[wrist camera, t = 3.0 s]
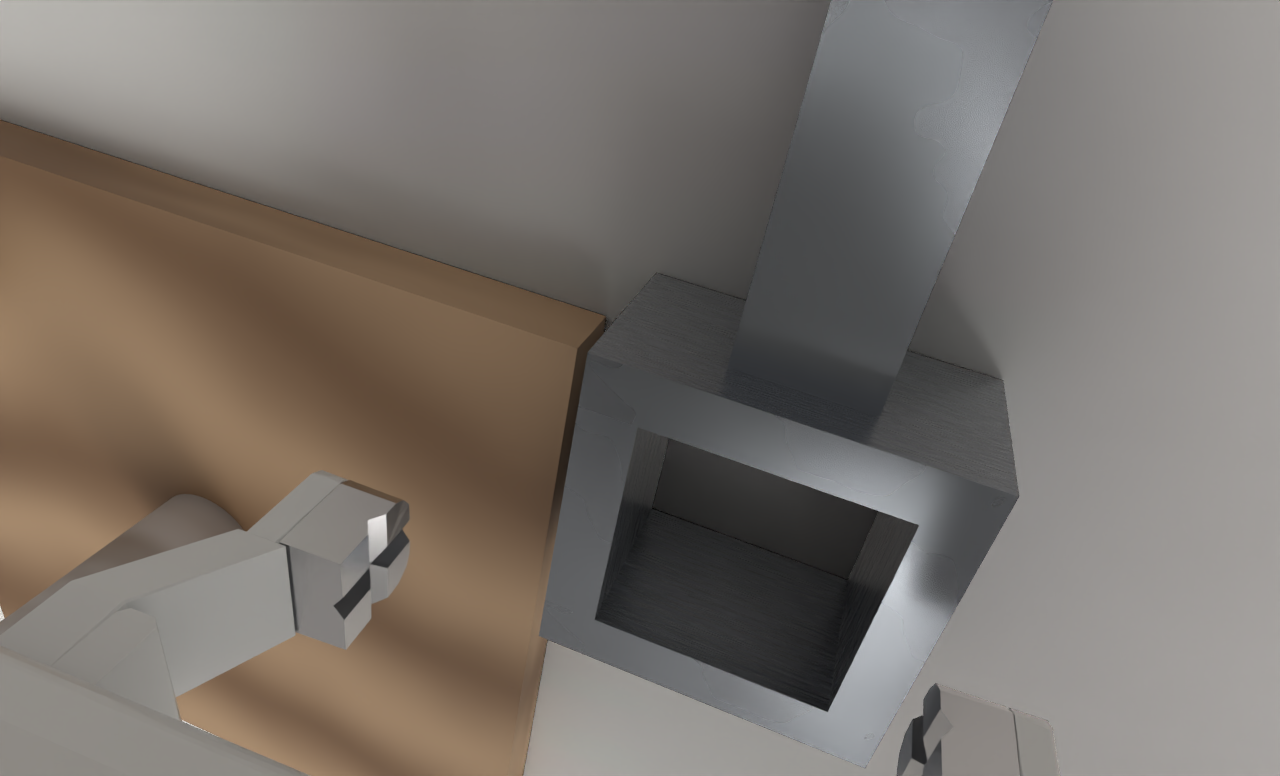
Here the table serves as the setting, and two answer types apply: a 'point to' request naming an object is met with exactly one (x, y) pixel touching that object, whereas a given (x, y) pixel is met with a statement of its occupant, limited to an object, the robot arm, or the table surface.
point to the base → (285, 443)
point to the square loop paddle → (810, 402)
